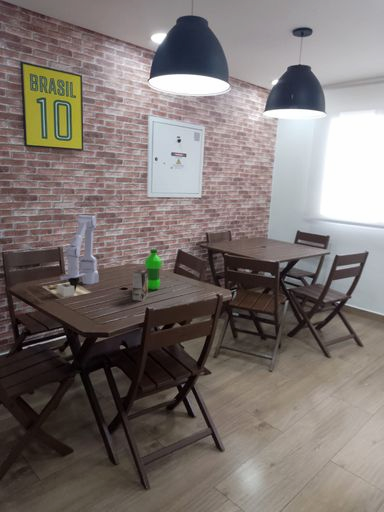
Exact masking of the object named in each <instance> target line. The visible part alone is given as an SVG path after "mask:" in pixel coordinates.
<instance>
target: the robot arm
mask: <svg viewBox="0 0 384 512" xmlns="http://www.w3.org/2000/svg"><path fill="white" fill-rule="evenodd" d="M76 220H77V221H76V222H77V229H76V233H75V235H74V236H73V237H72V239H71V240H70V244H69V246H68V247H66V249H65V257H66V260H67V273H68V274H66V275H64V276H60V281H61V280H66V281H67V280H68V282H69V283H70V284H71V285H72V286H74V291H76V287H77V285H79V282H80V278H82V284H83V285H93V284H96V283H99V280H100V279H99V277H100V276H99V272H98V270H97V268H98V260H97V257H95V256H94V255H93V251H94V250H93V248H94V230H96V228H97V218H96V216H95V215H85V214H79V215H77V218H76ZM83 236H84V240H83ZM83 241H84V252H83V256H81V257H80V255H81V249H82V248H81V247H82V244H83ZM79 257H80V258H79ZM79 259H80V260H79ZM80 270H81V273H80V272H79V271H80Z"/></svg>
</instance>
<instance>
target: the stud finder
mask: <svg viewBox="0 0 384 512" xmlns="http://www.w3.org/2000/svg"><path fill="white" fill-rule="evenodd" d="M56 284H57V293H59V294H60V295H62V296H63V297H66V298H68V297H67V296H71V297H73V296H72V295H74V286H72V285H71V284H69V283H68V282H66V283H63V284H61V283H56Z"/></svg>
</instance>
